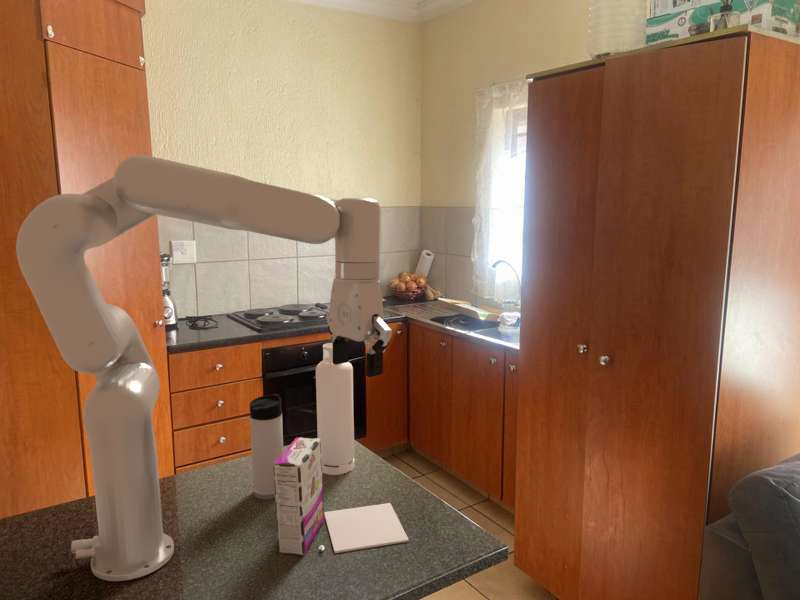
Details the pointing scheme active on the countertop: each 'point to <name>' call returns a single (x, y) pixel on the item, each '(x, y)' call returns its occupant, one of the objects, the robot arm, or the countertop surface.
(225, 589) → the countertop surface
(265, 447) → the travel mug
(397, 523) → the mat
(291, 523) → the candy bar box
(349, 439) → the bottle
